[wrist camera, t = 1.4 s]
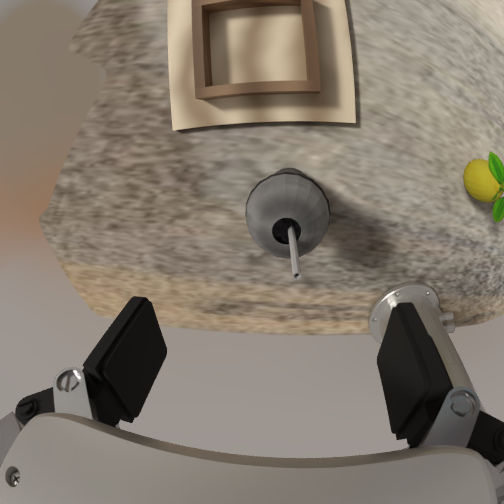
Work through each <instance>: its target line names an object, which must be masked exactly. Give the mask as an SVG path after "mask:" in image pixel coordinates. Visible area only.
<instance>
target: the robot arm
mask: <svg viewBox="0 0 504 504" xmlns="http://www.w3.org/2000/svg"><path fill="white" fill-rule="evenodd" d="M453 317H454V314H453V312H445V313H442V312H441V311H440V309H439V300H438V297H437V295H436V293H435V292H434V290H433V289H432V288H431V287H429V286H428V285H426V284H424V283H419V282H409V283H404V284H401V285H398V286H396V287H394V288H392V289H390V290H389V291H387V292H386V293H385V294H383V295H382V296H381V297H380V298H379V299H378V300H377V302H376V303H375V305H374V306H373V308H372V310H371V312H370V315H369V321H368V325H369V330H370V333H371V335H372V337H373V338H374V339H375V340H376V341H377V342H379V343H380V344H381V347H380V350H379V353H378V356H377V365H378V369H379V373H380V377H381V382H382V386H383V391H384V395H385V400H386V405H387V410H388V415H389V420H390V426H391V431H392V433H393V434H395V433H396V438H397V440H400V439H406V438H407V442H408V444H409V445H408V447H407V448H405V449H402V450H398V451H391V452H384V453H377V454H368V455H358V456H348V457H332V458H272V457H257V456H246V455H237V454H228V453H221V452H214V451H208V450H202V449H197V448H191V447H186V446H181V445H177V444H172V443H168V442H164V441H160V440H156V439H152V438H148V437H145V436H141V435H138V434H135V433H131V432H128V431H125V430H121V429H120V427H119V424H118V423H119V421H120V419H121V420H123V421H126V422H130V423H132V422H133V420H134V418H135V417H138V415H139V414H140V412H141V409H142V407H143V405H144V403H145V400H146V398H147V396H148V394H149V392H150V390H151V387H152V385H153V383H154V381H155V379H156V377H157V375H158V372H159V370H160V368H161V366H162V364H163V362H164V360H165V358H166V355H167V347H166V344H165V342H164V339H163V336H162V333H161V330H160V327H159V324H158V321H157V318H156V315H155V311H154V308H153V305H152V303H151V302H150V301H149V300H148V299H147V298H146V297H136V296H134V297H132V298H131V299H130V301H129V302H128V303H127V304H126V306H125V307H124V308H123V310H122V311H121V312H120V314H119V315H118V316H117V318H116V319H115V320H114V322H113V323H112V324H111V326H110V327H109V329H108V330H107V331H106V333H105V334H104V335H103V337H102V338H101V340H100V341H99V342H98V344H97V345H96V347H95V348H94V349H93V351H92V352H91V354H90V355H89V356H88V358H87V359H86V361H85V362H84V364H83V366H84V369H83V370H82V371H81V370H80V369H79V368H77V367H68V368H66V369H63V370H62V371H60V372H59V373H58V374H57V375H56V377H55V379H54V382H53V387H52V388H49V389H46V390H43V391H41V392H38V393H35V394H32V395H29V396H27V397H25V398H23V399H22V400H21V401H20V402H19V403H18V405H17V407H16V411H15V413H14V412H11V413H10V414H8V415H7V416H5V417H4V418H3V419H1V420H0V504H504V422H502V421H500V420H498V419H496V418H494V417H492V416H491V415H489V414H487V413H486V411H485V409H484V407H483V406H482V403H481V401H480V400H479V398H478V396H477V393H476V392H475V389H474V387H473V385H472V383H471V381H470V379H469V376H468V374H467V372H466V370H465V368H464V366H463V363H462V361H461V359H460V357H459V355H458V353H457V351H456V349H455V347H454V345H453V343H452V342H451V339H450V337H449V335H448V333H453V332H454V330H455V324H454V322H444V323H442V321H443V320H453Z"/></svg>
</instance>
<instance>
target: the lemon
mask: <svg viewBox="0 0 504 504" xmlns="http://www.w3.org/2000/svg"><path fill="white" fill-rule="evenodd" d="M463 178H464V185H465V188H466V190H467V191H468V193H469V194H470V195H471V196H472V197H474V198H475V199H476V200H478V201H482V202H486V203H490V202H494V201H496V200H497V201H496V202H495V203H494V205H493V218H494V221H495V222H499V221H501V220H502V219H503V218H504V197H502V198H500V197H501V196H502V194H503V192H504V166H503V164H502V162H501V160H500V159H499V157H498V156H497V155H495V154H494V153H492V152H490V154H489V161H486V160H483V159H475V160H472V161H471V162H469V163H468V165H467V166H466V168H465V170H464V176H463ZM499 198H500V199H499Z"/></svg>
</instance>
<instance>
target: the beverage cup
mask: <svg viewBox="0 0 504 504" xmlns="http://www.w3.org/2000/svg"><path fill="white" fill-rule="evenodd" d="M329 219H330V207H329V201H328V199H327V197H326V195H325V193H324V191H323V190H322V188H321V187H320V186H319V185H317V184H316V183H315V182H314V181H313V180H312V179H310V178H308V177H306V176H305V175H304V174H303V173H302V172H301V171H299V170H297V169H295V168H284V169H281V170H280V171H278V172H276V173H275V174H273V175H270V176H269V177H267V178H265V179H264V180H262V181H260V182H259V183H258V184H257V185H256V187H255V188H254V189H253V190H252V191H251V193H250V195H249V198H248V200H247V203H246V222H247V226H248V229H249V233H250V235H251V236H252V238H253V239H254V241H255V243H256V244H257V245H258V246H259V247H260V248H262V249H263V250H264V251H265V252H266V253H269V254H271V255H274V256H276V257H281V258H291V263H292V272H293V278H294V279H300V278H301V270H300V263H299V257H301V256H303V255H305V254H307V253H309V252H311V251H312V250H313V249H314V248H315V247H316V246H317V245H318V244H319V243H320V242H321V241H322V239H323V237H324V236H325V234H326V232H327V229H328V225H329Z"/></svg>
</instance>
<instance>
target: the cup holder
mask: <svg viewBox="0 0 504 504" xmlns="http://www.w3.org/2000/svg"><path fill="white" fill-rule="evenodd" d="M168 61H169V82H170V99H171V112H172V125H173V130H181V129H188V128H196V127H204V126H214V125H224V124H237V123H252V122H277V121H319V122H344V123H356V116H355V91H354V76H353V63H352V52H351V43H350V34H349V27H348V19H347V13H346V6H345V0H168Z"/></svg>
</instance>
